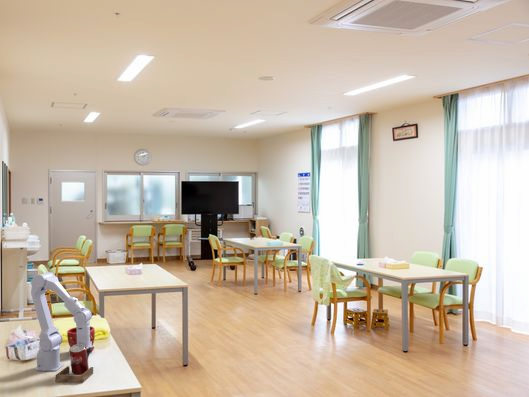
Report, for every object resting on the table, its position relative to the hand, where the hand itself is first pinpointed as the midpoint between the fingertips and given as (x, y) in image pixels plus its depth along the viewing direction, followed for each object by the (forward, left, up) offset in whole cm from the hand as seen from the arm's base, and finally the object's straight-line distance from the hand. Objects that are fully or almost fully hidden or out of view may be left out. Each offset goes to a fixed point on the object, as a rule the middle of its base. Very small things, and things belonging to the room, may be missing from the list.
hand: (84, 366), depth 251 cm
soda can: (0, -4, -1) cm, 4 cm away
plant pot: (-12, +26, -2) cm, 29 cm away
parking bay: (0, -9, -2) cm, 9 cm away
